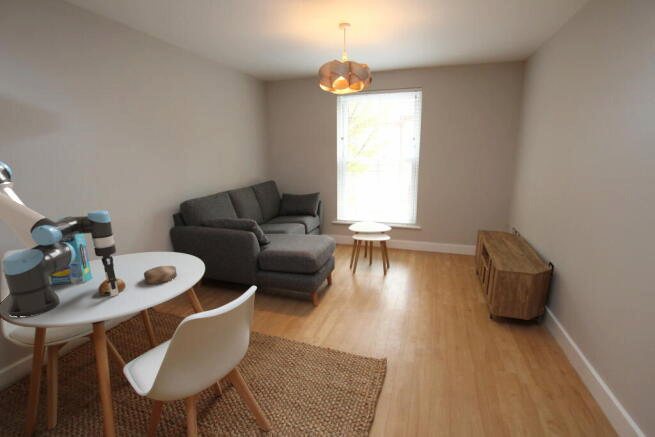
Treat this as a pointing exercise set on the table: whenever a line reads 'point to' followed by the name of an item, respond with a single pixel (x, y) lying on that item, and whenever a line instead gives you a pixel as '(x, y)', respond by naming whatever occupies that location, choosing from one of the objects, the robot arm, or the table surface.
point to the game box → (74, 264)
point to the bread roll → (105, 288)
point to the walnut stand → (160, 274)
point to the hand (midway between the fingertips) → (113, 290)
